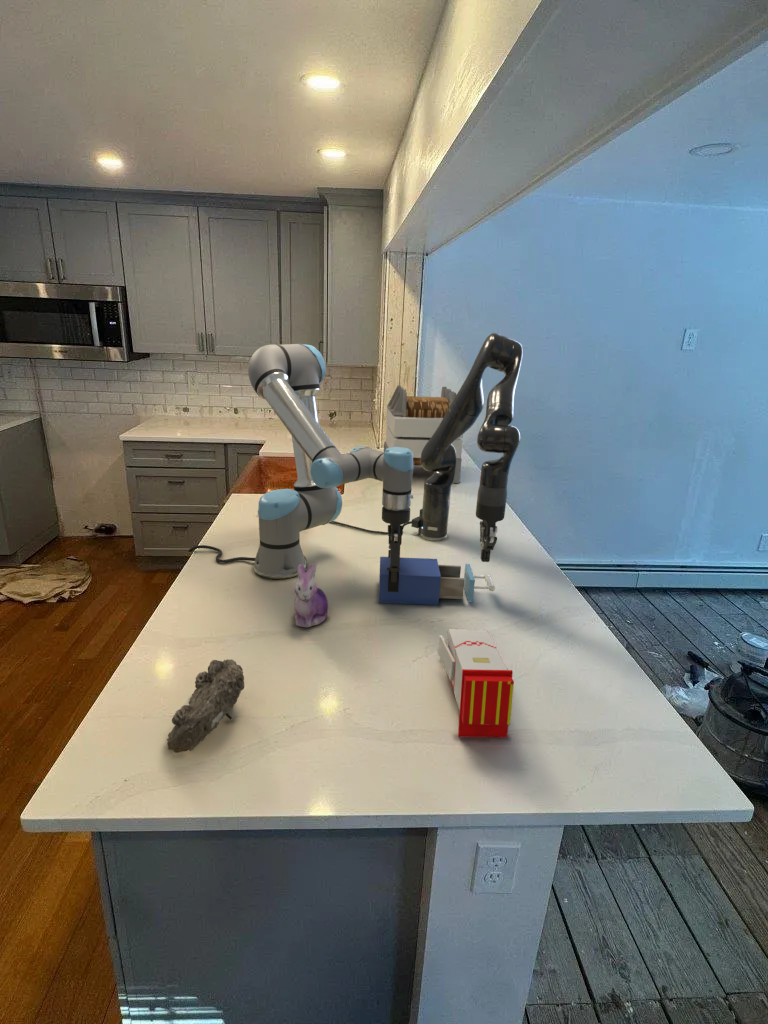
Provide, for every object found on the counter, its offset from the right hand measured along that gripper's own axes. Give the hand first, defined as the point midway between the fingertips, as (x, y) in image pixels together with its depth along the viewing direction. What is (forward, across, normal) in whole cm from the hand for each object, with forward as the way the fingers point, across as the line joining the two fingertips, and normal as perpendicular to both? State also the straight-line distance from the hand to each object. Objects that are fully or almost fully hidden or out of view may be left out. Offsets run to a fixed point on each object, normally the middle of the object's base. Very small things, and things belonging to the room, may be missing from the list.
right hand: (484, 560), depth 155 cm
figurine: (+11, -16, +46) cm, 49 cm away
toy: (+11, -42, +9) cm, 45 cm away
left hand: (+7, 0, +25) cm, 26 cm away
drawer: (+10, 0, +8) cm, 13 cm away
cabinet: (+11, 0, +20) cm, 23 cm away
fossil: (+11, -52, +60) cm, 80 cm away
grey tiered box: (+11, +124, +10) cm, 125 cm away
